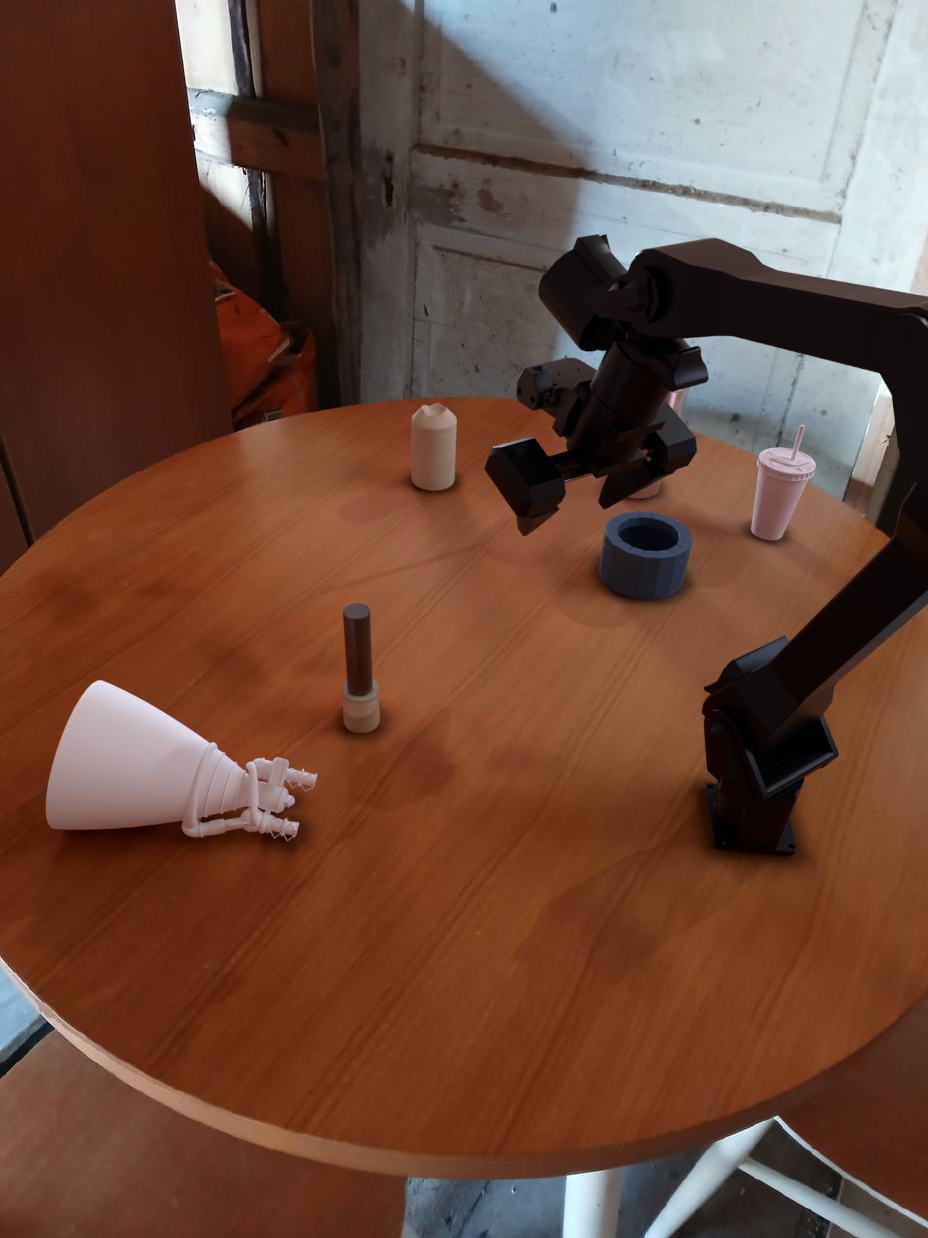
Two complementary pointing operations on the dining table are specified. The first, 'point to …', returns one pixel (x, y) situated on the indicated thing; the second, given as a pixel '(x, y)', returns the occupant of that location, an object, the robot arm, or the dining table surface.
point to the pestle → (359, 672)
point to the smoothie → (779, 488)
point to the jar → (644, 555)
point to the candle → (433, 447)
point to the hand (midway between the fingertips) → (563, 518)
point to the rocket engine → (157, 773)
